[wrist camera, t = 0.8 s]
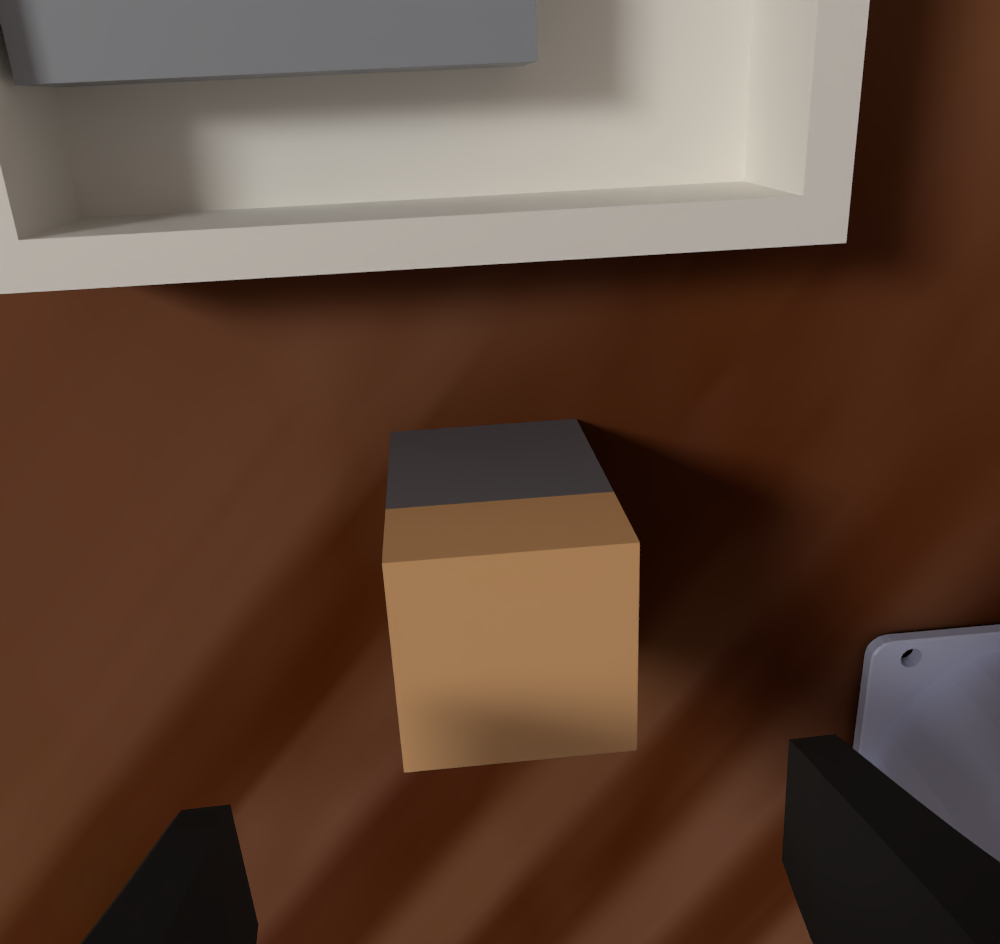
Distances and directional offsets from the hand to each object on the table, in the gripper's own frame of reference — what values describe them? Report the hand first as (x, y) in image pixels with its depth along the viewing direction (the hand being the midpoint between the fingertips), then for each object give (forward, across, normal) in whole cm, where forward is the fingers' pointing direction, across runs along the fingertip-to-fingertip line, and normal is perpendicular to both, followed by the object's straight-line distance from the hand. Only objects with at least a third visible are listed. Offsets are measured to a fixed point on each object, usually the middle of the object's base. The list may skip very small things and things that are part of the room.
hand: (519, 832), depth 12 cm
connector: (+9, 0, 0) cm, 9 cm away
